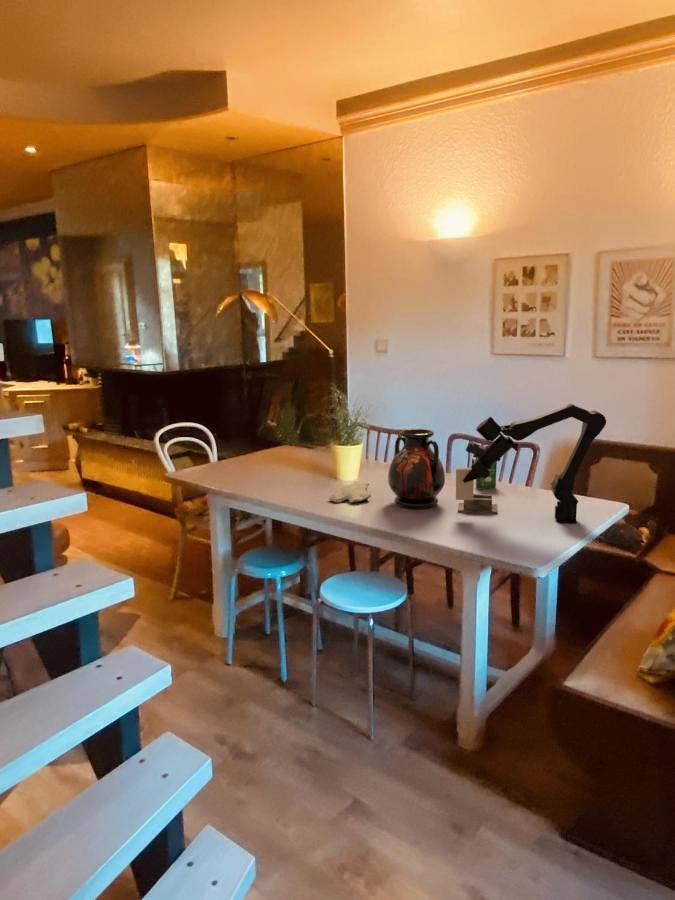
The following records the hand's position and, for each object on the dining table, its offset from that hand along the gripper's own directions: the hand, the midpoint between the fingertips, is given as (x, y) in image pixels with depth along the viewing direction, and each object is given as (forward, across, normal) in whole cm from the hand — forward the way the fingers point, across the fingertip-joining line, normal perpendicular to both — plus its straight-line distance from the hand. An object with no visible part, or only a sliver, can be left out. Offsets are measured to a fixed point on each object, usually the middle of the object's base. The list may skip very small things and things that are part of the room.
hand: (463, 480), depth 234 cm
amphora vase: (+22, -14, -3) cm, 27 cm away
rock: (+40, -19, -20) cm, 48 cm away
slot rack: (+6, -10, +13) cm, 18 cm away
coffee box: (+4, -41, +15) cm, 44 cm away
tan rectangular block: (+4, 0, +5) cm, 7 cm away
